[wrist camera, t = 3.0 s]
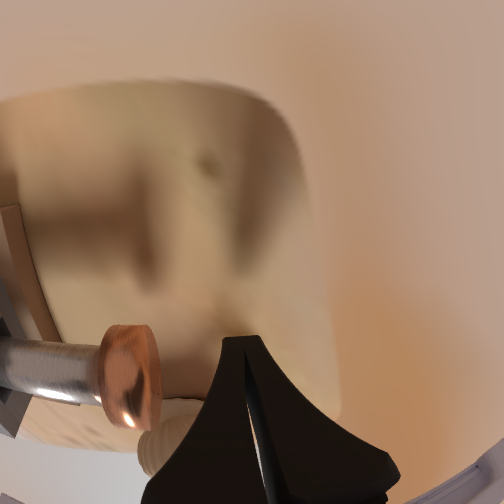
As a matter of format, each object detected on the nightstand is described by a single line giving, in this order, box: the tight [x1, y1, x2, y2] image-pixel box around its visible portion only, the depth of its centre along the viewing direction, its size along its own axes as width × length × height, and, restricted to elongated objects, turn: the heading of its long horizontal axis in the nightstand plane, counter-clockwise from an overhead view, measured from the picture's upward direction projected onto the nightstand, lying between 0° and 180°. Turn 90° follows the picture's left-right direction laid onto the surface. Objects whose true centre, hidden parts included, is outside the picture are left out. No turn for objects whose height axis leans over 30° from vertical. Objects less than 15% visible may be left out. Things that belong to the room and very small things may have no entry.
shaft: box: [0, 325, 162, 431], centre depth 9 cm, size 11×4×4 cm, turn 89°
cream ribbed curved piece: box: [137, 398, 204, 478], centre depth 14 cm, size 4×8×5 cm, turn 123°
